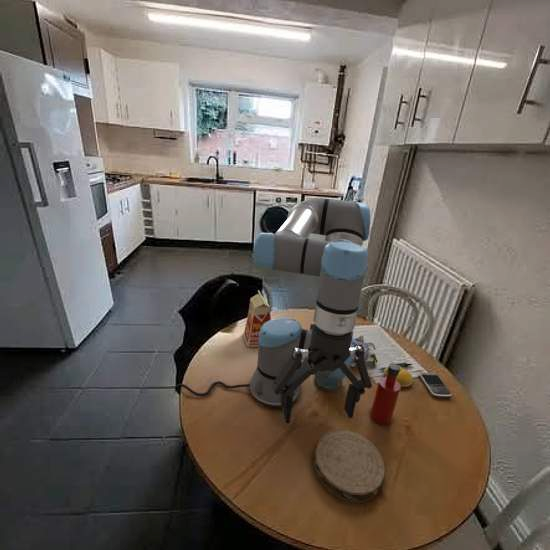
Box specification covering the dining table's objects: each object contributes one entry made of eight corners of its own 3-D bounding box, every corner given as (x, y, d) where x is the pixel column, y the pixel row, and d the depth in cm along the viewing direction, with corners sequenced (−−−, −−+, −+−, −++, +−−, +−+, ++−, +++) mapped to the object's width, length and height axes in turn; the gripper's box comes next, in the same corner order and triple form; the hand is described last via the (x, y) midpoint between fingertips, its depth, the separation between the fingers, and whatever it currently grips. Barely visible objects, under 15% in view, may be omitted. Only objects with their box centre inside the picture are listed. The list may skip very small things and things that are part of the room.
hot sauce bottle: (374, 424, 86) (388, 373, 79) (367, 408, 91) (380, 359, 84) (394, 424, 86) (409, 374, 79) (386, 409, 91) (400, 360, 85)
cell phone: (432, 398, 97) (433, 395, 96) (417, 374, 107) (418, 371, 107) (451, 399, 97) (453, 395, 97) (434, 375, 107) (435, 372, 107)
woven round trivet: (365, 435, 82) (367, 427, 81) (394, 498, 68) (398, 489, 66) (307, 440, 80) (308, 431, 78) (325, 506, 65) (327, 497, 64)
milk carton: (243, 334, 121) (245, 288, 114) (265, 332, 124) (269, 287, 116) (248, 348, 113) (251, 300, 106) (272, 345, 116) (276, 298, 109)
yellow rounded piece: (404, 392, 99) (407, 382, 97) (379, 376, 105) (382, 366, 103) (416, 381, 104) (419, 371, 102) (392, 366, 110) (394, 357, 108)
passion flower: (350, 378, 111) (334, 353, 107) (355, 356, 119) (340, 333, 116) (380, 373, 104) (364, 347, 101) (383, 351, 113) (368, 326, 110)
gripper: (270, 338, 51) (261, 435, 59) (404, 335, 56) (381, 424, 64) (263, 317, 58) (256, 406, 65) (383, 315, 63) (364, 398, 71)
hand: (317, 415), depth 65 cm, fingers open, 13 cm apart
